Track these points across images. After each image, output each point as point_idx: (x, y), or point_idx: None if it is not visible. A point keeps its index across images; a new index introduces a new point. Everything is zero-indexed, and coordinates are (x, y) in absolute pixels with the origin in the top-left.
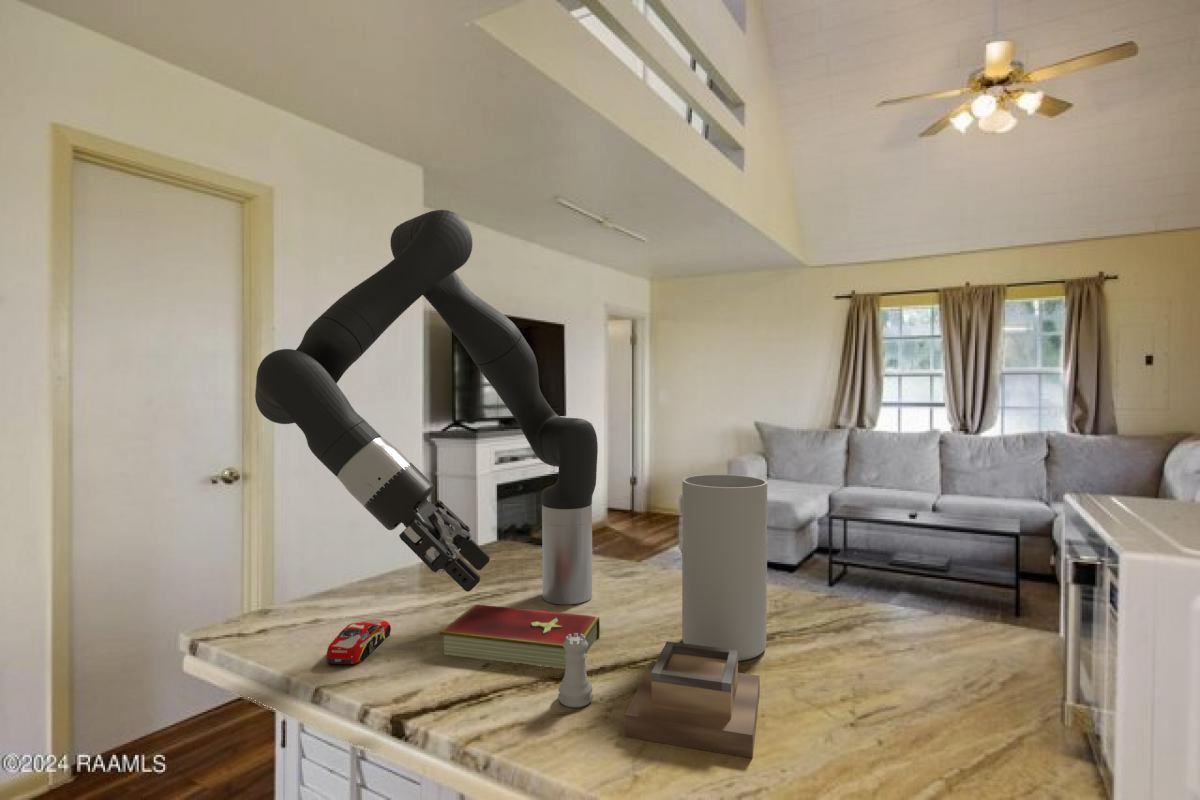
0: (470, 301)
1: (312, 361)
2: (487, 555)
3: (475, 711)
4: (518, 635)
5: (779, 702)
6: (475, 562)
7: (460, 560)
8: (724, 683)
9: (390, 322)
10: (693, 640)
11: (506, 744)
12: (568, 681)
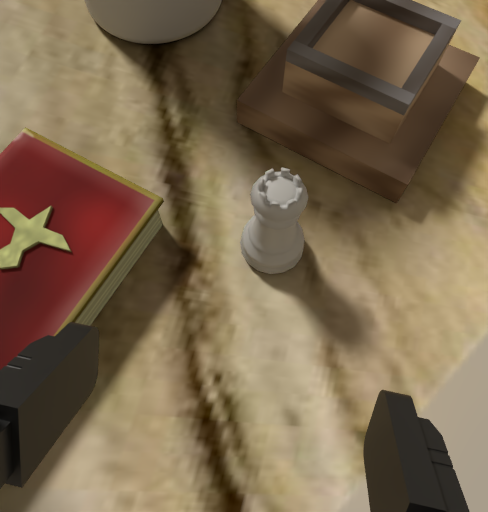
0: None
1: None
2: (74, 330)
3: (267, 433)
4: (50, 305)
5: None
6: (77, 394)
7: (438, 497)
8: (456, 27)
9: None
10: (172, 24)
11: (392, 384)
12: (290, 243)
